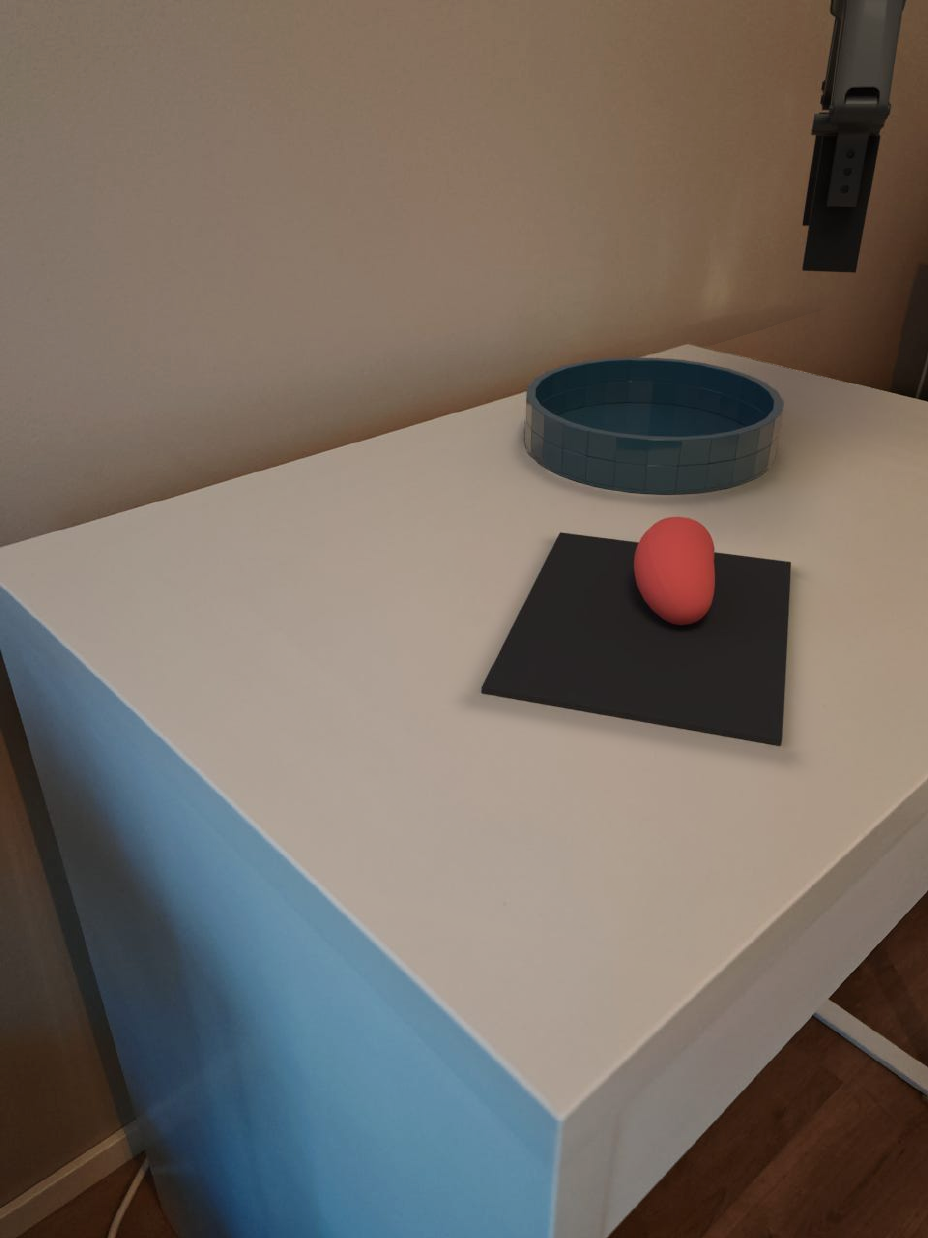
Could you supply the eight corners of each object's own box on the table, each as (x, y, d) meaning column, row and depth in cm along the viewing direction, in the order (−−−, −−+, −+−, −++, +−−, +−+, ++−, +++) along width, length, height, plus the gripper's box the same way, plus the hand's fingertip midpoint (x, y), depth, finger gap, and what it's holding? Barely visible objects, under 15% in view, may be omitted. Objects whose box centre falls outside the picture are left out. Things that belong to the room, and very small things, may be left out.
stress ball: (599, 629, 61) (633, 576, 55) (638, 527, 66) (672, 469, 60) (675, 664, 60) (716, 613, 55) (708, 559, 65) (749, 503, 60)
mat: (790, 566, 66) (791, 561, 65) (781, 746, 49) (782, 739, 49) (559, 536, 70) (559, 531, 70) (481, 693, 53) (481, 687, 53)
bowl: (779, 414, 91) (787, 367, 89) (769, 508, 74) (779, 452, 71) (555, 394, 97) (556, 349, 94) (496, 476, 79) (497, 424, 77)
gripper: (817, -175, 57) (766, 209, 68) (825, -278, 37) (751, 291, 48) (954, -185, 55) (879, 211, 66) (1042, -300, 35) (913, 298, 46)
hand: (826, 246), depth 57 cm, fingers open, 13 cm apart
